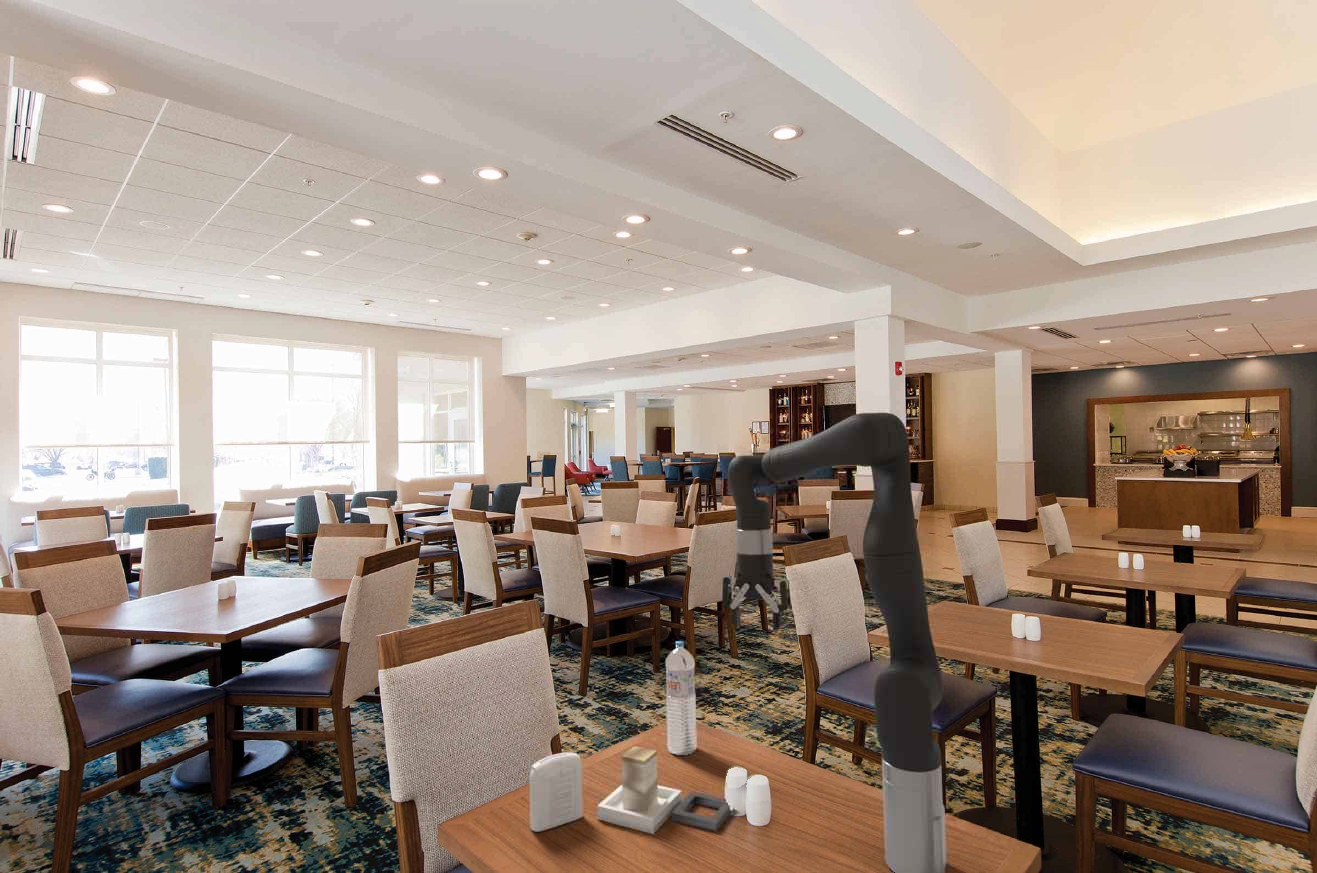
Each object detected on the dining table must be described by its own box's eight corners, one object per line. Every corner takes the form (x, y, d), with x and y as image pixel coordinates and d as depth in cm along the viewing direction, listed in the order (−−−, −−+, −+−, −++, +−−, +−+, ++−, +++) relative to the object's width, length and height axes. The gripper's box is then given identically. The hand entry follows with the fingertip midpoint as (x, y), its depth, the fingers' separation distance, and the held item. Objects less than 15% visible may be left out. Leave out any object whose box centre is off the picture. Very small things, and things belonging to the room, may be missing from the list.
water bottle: (662, 747, 159) (660, 640, 160) (688, 742, 162) (685, 636, 163) (675, 759, 153) (672, 647, 154) (702, 753, 156) (699, 643, 157)
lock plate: (734, 808, 131) (733, 800, 131) (716, 832, 123) (715, 823, 123) (691, 798, 135) (691, 791, 135) (671, 820, 127) (671, 812, 127)
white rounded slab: (576, 809, 132) (575, 744, 133) (586, 818, 129) (585, 752, 129) (526, 825, 127) (525, 758, 127) (535, 836, 123) (534, 767, 124)
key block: (657, 802, 132) (656, 750, 132) (645, 815, 128) (644, 761, 128) (635, 797, 134) (634, 746, 135) (622, 809, 130) (621, 756, 130)
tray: (681, 803, 133) (681, 790, 133) (653, 834, 123) (652, 820, 123) (629, 791, 139) (628, 778, 139) (597, 819, 128) (597, 805, 128)
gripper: (716, 551, 142) (718, 629, 141) (782, 554, 135) (784, 636, 135) (729, 546, 149) (731, 621, 148) (792, 549, 142) (795, 627, 142)
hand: (756, 628), depth 142 cm, fingers open, 8 cm apart
